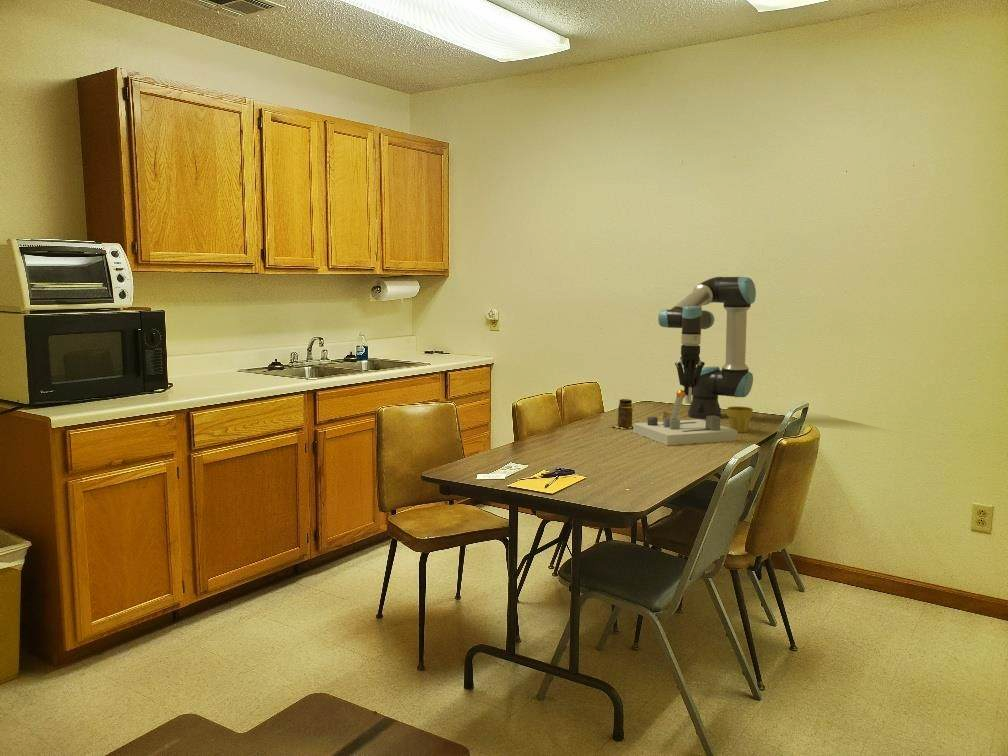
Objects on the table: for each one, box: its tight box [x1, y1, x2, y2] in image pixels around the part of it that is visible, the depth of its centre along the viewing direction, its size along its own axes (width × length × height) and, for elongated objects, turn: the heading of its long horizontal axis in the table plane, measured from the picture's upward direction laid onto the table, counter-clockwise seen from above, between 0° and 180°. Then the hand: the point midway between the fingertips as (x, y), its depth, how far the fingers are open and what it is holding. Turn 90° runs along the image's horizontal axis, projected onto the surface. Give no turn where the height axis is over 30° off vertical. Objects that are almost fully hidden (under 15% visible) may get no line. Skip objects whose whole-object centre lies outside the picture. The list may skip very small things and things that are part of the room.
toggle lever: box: [668, 389, 686, 423], centre depth 311 cm, size 4×4×14 cm
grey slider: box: [705, 415, 722, 430], centre depth 308 cm, size 4×4×5 cm
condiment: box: [617, 398, 634, 428], centre depth 331 cm, size 7×8×12 cm
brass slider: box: [662, 410, 672, 423], centre depth 318 cm, size 4×4×5 cm
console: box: [632, 416, 738, 446], centre depth 313 cm, size 32×26×8 cm
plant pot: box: [726, 406, 754, 433], centre depth 326 cm, size 10×10×10 cm
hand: (688, 402), depth 312 cm, fingers closed
